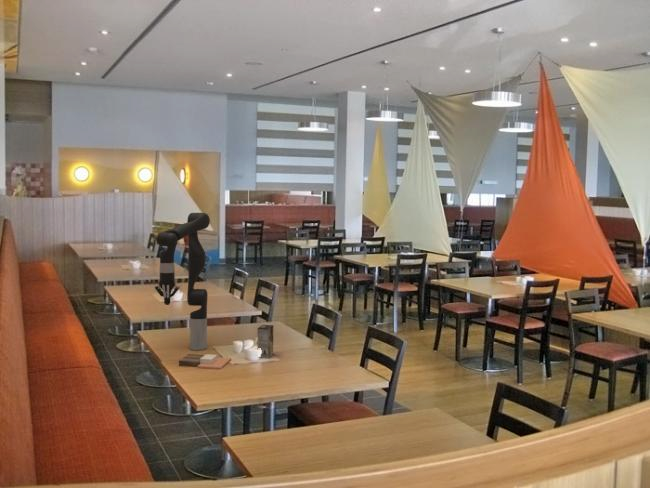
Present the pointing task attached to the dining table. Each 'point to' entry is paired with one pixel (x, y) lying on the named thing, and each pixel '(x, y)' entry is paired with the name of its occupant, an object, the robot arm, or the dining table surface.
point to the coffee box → (265, 340)
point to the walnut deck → (190, 360)
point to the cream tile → (208, 359)
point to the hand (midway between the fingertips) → (167, 304)
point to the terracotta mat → (216, 364)
